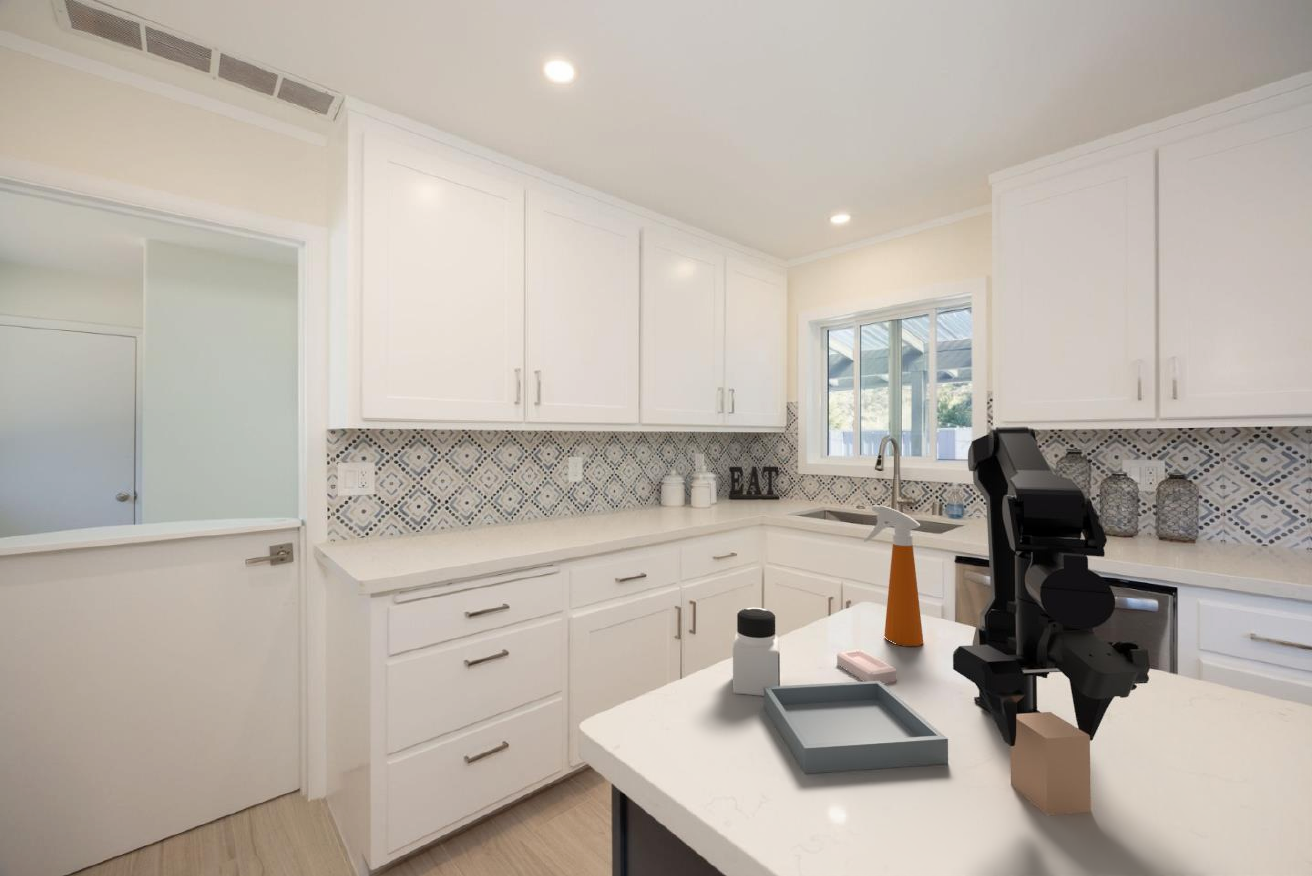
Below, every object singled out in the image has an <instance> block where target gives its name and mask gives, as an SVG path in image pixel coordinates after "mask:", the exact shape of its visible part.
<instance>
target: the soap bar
mask: <svg viewBox="0 0 1312 876" xmlns="http://www.w3.org/2000/svg"><path fill="white" fill-rule="evenodd" d="M837 664H838V666H839V667H840V666H841V668H842V667H843V668H842V669H844V668H845V669H847V670H848V671H849V673H850V672H851V673H850V674H852V675H853V674H854V675H853V676H855V677H857V678H858V677H859V678H858V679H860V680H861V679H862V682H864V681H881V682H882V683H883V684H887V683H893V682H897V668H895V667H893V666H891V665H890V664H888V663H886V662H884V661H882V660H880V659H879V658H878V657H875V656H873V655H871V654H870V653H867V652H865V651H863V650H862V649H854V650H850V651H843V652H842V651H841V652H838V653H837V655H836V665H837ZM845 669H844V670H845ZM847 670H846V671H847ZM848 671H847V672H848Z"/></svg>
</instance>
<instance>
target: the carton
mask: <svg viewBox="0 0 1312 876" xmlns="http://www.w3.org/2000/svg"><path fill="white" fill-rule="evenodd" d="M1040 712H1041V711H1040ZM1009 746H1010V745H1009ZM1009 756H1010V786H1012V788H1013V789H1014V790H1016V791H1017V792H1018V793H1020V794H1021V795H1022V796H1023V797H1025V798H1026V800H1028V801H1029V802H1031V803H1032V804H1033V805H1034V806H1035V807H1037V808H1038V809H1039V810H1040V811H1042V813H1044V814H1045V815H1046V816H1053V814H1054V816H1055V814H1056V815H1065V813H1066V814H1078V813H1090V812H1092V811H1091V809H1092V804H1091V802H1092V799H1091V797H1092V796H1091V794H1092V793H1091V791H1092V790H1091V741H1090V735H1088V734H1087V733H1085V732H1083V731H1081V730H1080V729H1079V728H1078V727H1077V726H1074V725H1073V724H1072V723H1070V722H1068V721H1067V720H1064V719H1063V718H1061V717H1060V716H1058V715H1056V714H1055V713H1053V712H1051V711H1045V712H1044V711H1042V712H1041V713H1025V714H1017V715H1016V740H1015V746H1010V755H1009Z"/></svg>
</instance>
